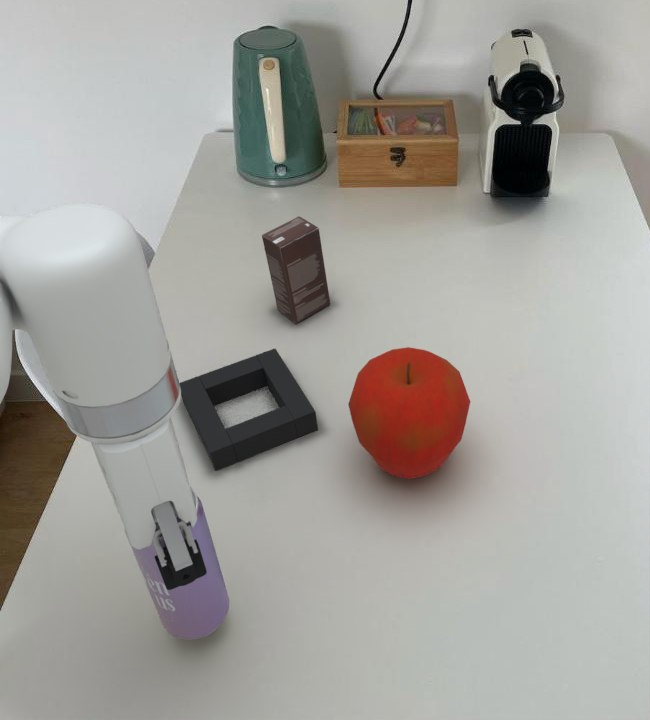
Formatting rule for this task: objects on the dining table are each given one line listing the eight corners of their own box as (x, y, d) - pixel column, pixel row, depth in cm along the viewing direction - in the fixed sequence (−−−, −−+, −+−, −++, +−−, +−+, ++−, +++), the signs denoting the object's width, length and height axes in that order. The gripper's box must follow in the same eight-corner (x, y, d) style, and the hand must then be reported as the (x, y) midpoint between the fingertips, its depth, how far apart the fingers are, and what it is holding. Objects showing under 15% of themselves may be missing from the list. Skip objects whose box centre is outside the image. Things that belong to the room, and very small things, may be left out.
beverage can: (244, 601, 72) (216, 496, 62) (199, 655, 69) (162, 553, 59) (193, 572, 75) (158, 466, 65) (147, 623, 71) (103, 519, 61)
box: (310, 290, 109) (299, 214, 101) (331, 305, 107) (321, 228, 99) (274, 310, 107) (259, 233, 98) (294, 326, 104) (281, 248, 96)
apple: (348, 427, 91) (336, 331, 81) (452, 409, 92) (453, 314, 83) (365, 515, 82) (354, 420, 72) (480, 494, 83) (484, 398, 74)
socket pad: (215, 471, 87) (210, 452, 85) (183, 401, 95) (177, 383, 93) (318, 429, 91) (315, 411, 89) (278, 366, 99) (275, 347, 97)
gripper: (36, 330, 57) (102, 490, 70) (88, 501, 46) (157, 657, 58) (141, 298, 60) (187, 458, 72) (215, 453, 49) (255, 612, 61)
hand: (173, 546), depth 65 cm, fingers closed on beverage can, 6 cm apart
